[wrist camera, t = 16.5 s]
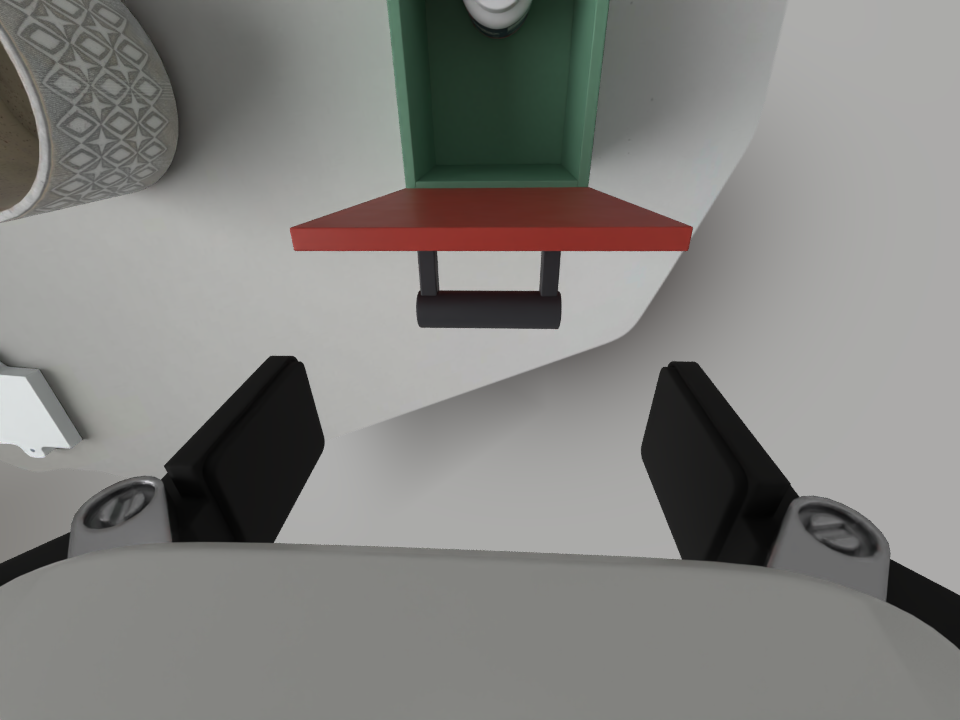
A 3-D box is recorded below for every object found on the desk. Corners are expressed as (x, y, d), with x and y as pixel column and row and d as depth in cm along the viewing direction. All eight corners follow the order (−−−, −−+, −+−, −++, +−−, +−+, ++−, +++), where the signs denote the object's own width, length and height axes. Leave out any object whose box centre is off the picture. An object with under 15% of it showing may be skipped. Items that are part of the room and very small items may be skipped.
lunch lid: (288, 227, 14) (314, 348, 16) (694, 226, 13) (666, 353, 15) (404, 188, 31) (409, 251, 33) (589, 187, 30) (582, 251, 32)
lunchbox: (411, -77, 32) (370, -158, 22) (590, -85, 31) (629, -172, 21) (429, 173, 41) (406, 193, 31) (567, 171, 40) (587, 191, 30)
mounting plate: (-65, 346, 55) (-83, 353, 53) (29, 353, 55) (14, 360, 53) (9, 445, 65) (-4, 454, 63) (89, 451, 64) (79, 460, 63)
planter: (149, 228, 45) (16, 273, 33) (-45, 90, 39) (-296, 82, 27) (221, 79, 37) (83, 65, 25) (-6, -123, 31) (-333, -270, 19)
